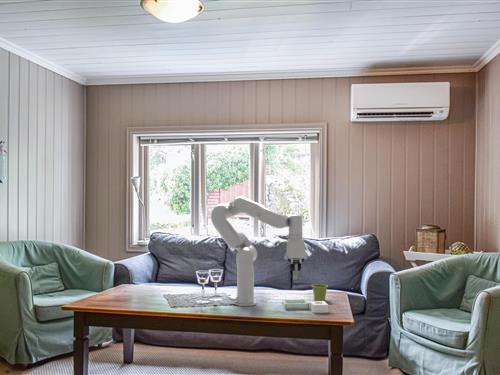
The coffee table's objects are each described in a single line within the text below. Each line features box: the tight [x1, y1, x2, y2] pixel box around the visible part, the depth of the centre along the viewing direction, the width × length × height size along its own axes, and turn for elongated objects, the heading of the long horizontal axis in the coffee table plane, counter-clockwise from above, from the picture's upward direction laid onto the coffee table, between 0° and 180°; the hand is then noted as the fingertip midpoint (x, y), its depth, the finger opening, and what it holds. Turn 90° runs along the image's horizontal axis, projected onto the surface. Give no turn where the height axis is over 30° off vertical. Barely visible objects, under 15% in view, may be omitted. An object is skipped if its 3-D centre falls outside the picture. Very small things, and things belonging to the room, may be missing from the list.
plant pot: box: [311, 283, 328, 302], centre depth 238 cm, size 9×9×9 cm
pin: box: [292, 258, 300, 281], centre depth 223 cm, size 4×4×11 cm
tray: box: [281, 298, 310, 311], centre depth 223 cm, size 13×10×3 cm
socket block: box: [309, 300, 329, 314], centre depth 215 cm, size 8×8×4 cm
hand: (295, 270), depth 223 cm, fingers closed on pin, 3 cm apart
